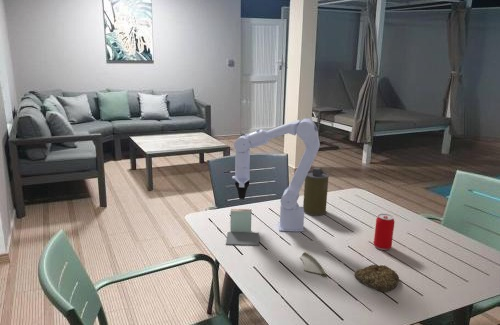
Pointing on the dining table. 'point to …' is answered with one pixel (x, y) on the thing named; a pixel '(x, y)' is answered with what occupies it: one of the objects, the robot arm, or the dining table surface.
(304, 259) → the ceramic fragment
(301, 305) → the dining table surface
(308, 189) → the canister
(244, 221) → the peach green flat block
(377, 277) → the mossy rock
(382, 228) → the beverage can
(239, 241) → the mat
